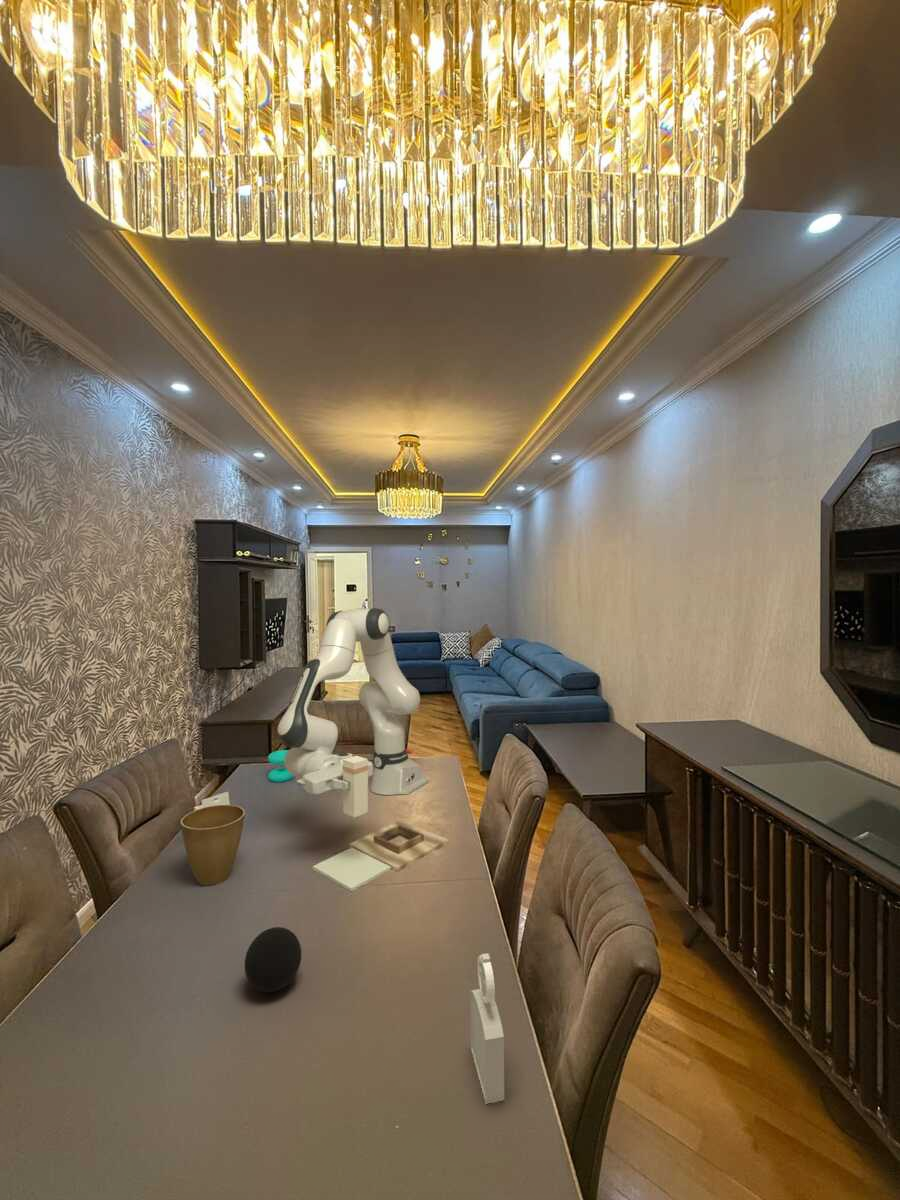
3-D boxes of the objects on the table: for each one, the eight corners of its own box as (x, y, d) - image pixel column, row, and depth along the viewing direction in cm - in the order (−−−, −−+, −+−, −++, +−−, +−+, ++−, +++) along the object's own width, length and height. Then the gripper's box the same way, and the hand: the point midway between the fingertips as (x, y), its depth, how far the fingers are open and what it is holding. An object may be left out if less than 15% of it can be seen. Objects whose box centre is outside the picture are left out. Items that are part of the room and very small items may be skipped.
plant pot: (222, 897, 127) (221, 831, 126) (168, 890, 130) (166, 826, 129) (257, 865, 141) (256, 806, 141) (207, 860, 144) (206, 801, 144)
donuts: (296, 754, 203) (269, 758, 199) (297, 780, 203) (269, 784, 199) (292, 747, 212) (266, 751, 208) (293, 772, 212) (267, 776, 208)
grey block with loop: (487, 1045, 85) (486, 935, 85) (504, 1101, 76) (503, 977, 75) (470, 1048, 84) (469, 937, 84) (485, 1104, 75) (484, 980, 75)
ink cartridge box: (222, 836, 158) (221, 787, 158) (231, 840, 155) (230, 791, 155) (193, 847, 151) (192, 796, 151) (202, 852, 148) (201, 800, 148)
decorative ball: (309, 967, 103) (308, 916, 103) (289, 1008, 93) (288, 952, 93) (260, 964, 104) (259, 914, 104) (234, 1004, 94) (233, 949, 94)
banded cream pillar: (356, 807, 142) (356, 755, 142) (368, 811, 139) (368, 759, 139) (342, 812, 139) (342, 759, 139) (354, 817, 136) (354, 763, 136)
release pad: (351, 850, 149) (351, 847, 149) (390, 869, 138) (390, 866, 138) (312, 869, 139) (312, 866, 139) (351, 891, 128) (351, 888, 128)
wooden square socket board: (399, 823, 166) (399, 814, 165) (448, 843, 152) (448, 833, 152) (348, 847, 150) (348, 837, 150) (397, 871, 137) (397, 860, 137)
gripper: (292, 769, 140) (324, 781, 131) (354, 751, 155) (386, 761, 146) (292, 793, 140) (324, 806, 131) (354, 773, 155) (386, 784, 146)
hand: (357, 782), depth 139 cm, fingers closed on banded cream pillar, 4 cm apart
